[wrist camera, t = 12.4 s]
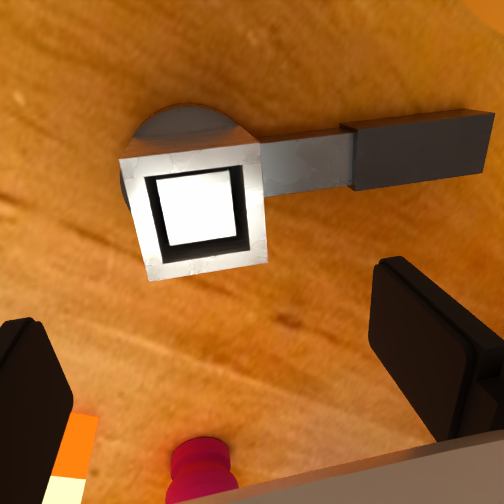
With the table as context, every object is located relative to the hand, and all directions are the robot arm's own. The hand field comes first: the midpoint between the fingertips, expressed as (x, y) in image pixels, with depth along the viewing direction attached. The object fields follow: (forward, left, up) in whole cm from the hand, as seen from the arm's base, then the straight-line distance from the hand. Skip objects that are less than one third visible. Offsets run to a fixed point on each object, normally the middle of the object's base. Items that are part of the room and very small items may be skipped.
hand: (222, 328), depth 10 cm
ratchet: (-8, 0, -18) cm, 19 cm away
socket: (0, 0, -15) cm, 15 cm away
